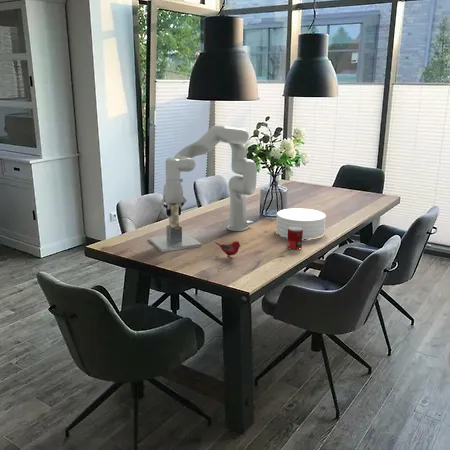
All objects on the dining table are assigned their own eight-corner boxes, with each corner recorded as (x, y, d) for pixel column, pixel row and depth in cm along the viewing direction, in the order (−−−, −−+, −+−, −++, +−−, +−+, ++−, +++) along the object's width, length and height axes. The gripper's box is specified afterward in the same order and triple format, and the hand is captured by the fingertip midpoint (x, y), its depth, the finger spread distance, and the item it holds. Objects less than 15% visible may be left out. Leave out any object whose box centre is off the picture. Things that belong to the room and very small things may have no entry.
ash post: (176, 238, 273) (175, 202, 267) (179, 240, 270) (178, 204, 264) (169, 239, 271) (168, 203, 266) (172, 241, 268) (171, 205, 262)
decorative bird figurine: (238, 262, 244) (238, 242, 241) (212, 253, 255) (212, 235, 252) (242, 260, 246) (242, 241, 243) (216, 252, 257) (216, 233, 254)
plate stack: (330, 230, 297) (332, 212, 294) (315, 243, 273) (316, 223, 270) (286, 224, 310) (287, 206, 306) (268, 235, 286) (269, 216, 283)
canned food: (298, 251, 260) (299, 231, 257) (284, 248, 264) (285, 228, 261) (304, 247, 267) (305, 227, 263) (290, 244, 271) (291, 225, 267)
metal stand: (185, 235, 285) (185, 219, 282) (201, 246, 266) (201, 229, 264) (148, 240, 276) (147, 223, 273) (161, 252, 257) (161, 234, 254)
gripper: (185, 179, 268) (186, 212, 273) (155, 182, 261) (156, 215, 266) (191, 182, 262) (191, 215, 267) (160, 184, 255) (161, 219, 260)
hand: (173, 215), depth 266 cm, fingers open, 5 cm apart
